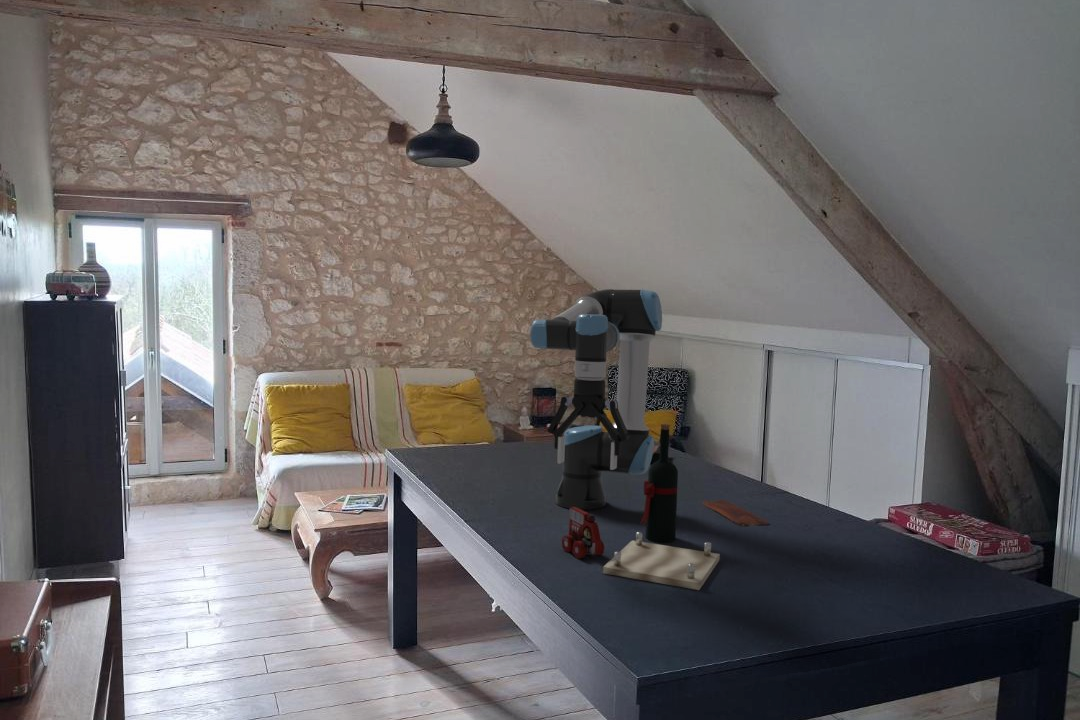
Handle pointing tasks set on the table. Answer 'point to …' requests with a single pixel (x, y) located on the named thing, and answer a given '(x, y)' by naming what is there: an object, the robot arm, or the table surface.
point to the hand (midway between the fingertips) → (586, 465)
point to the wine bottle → (661, 495)
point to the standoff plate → (663, 563)
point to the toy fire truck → (582, 534)
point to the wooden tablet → (735, 513)
